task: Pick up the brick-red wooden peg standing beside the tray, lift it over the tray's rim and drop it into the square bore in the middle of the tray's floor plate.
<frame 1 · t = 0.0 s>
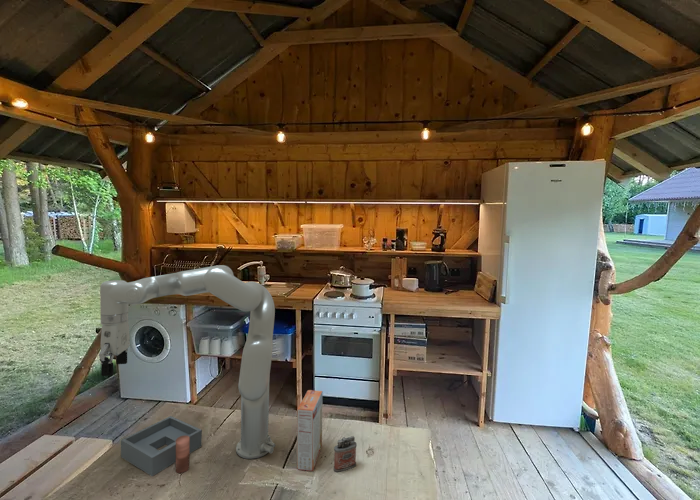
hand: (114, 369, 113), 31 cm above the table, tool pointing down, fingers open, 9 cm apart
peg: (182, 468, 111), on the table
cracker box: (309, 458, 118), on the table
lighter: (344, 468, 114), on the table
tray: (162, 451, 120), on the table
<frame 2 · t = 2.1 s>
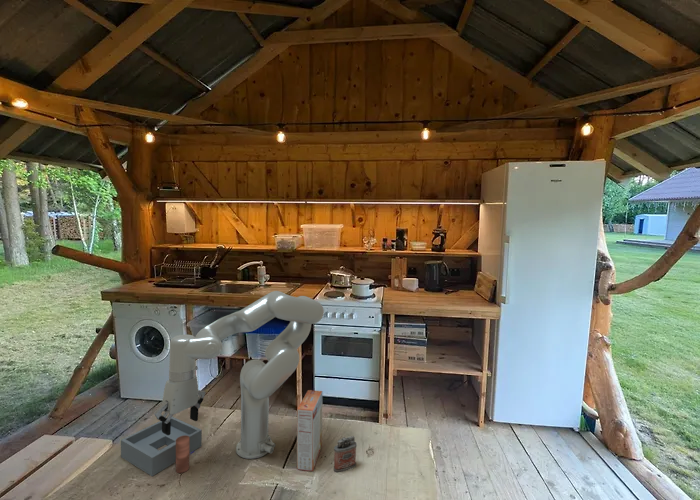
hand: (180, 426, 110), 14 cm above the table, tool pointing down, fingers open, 9 cm apart
nothing on the table moved.
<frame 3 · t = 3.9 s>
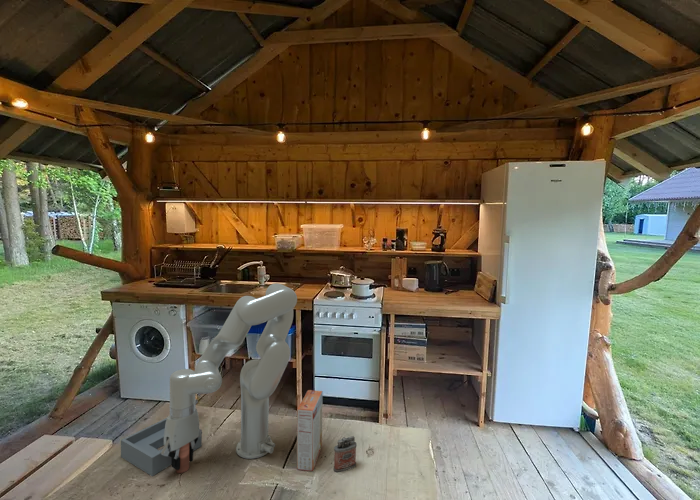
hand: (182, 463, 111), 2 cm above the table, tool pointing down, fingers closed on peg, 4 cm apart
peg: (182, 468, 111), on the table, touching gripper
everything else where it was.
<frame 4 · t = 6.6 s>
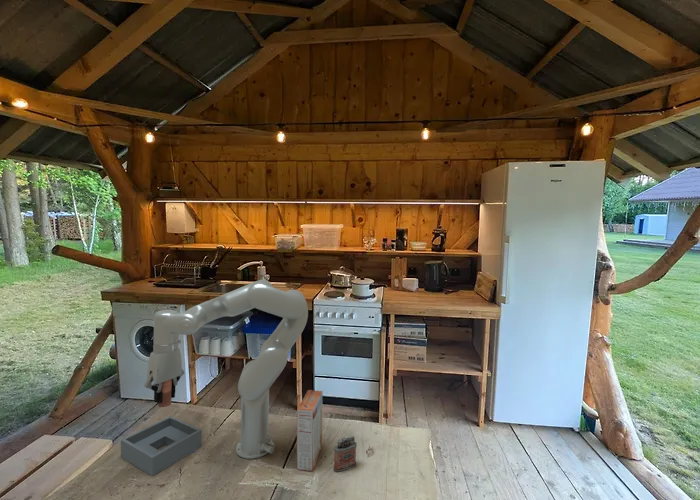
hand: (164, 399, 117), 20 cm above the table, tool pointing down, fingers closed on peg, 4 cm apart
peg: (164, 404, 117), point 18 cm above the table, touching gripper
everything else where it was.
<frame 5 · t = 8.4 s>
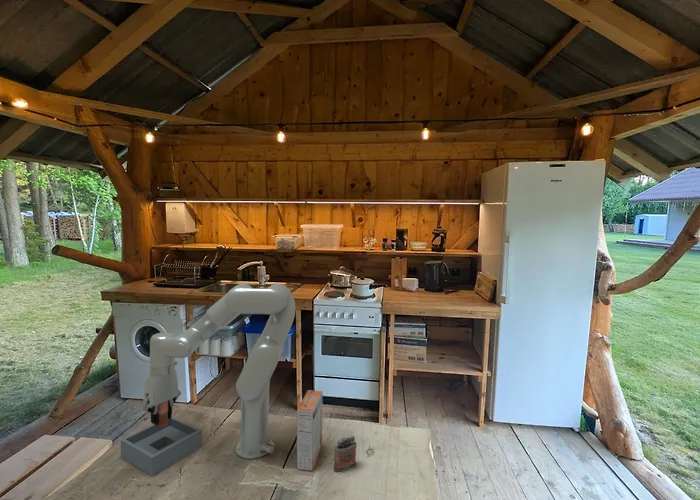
hand: (161, 420, 119), 11 cm above the table, tool pointing down, fingers closed on peg, 4 cm apart
peg: (161, 425, 119), point 9 cm above the table, touching gripper
everything else where it was.
when the fingers open (6 cm above the table, at t = 9.7 s): peg drops 4 cm, resting in tray.
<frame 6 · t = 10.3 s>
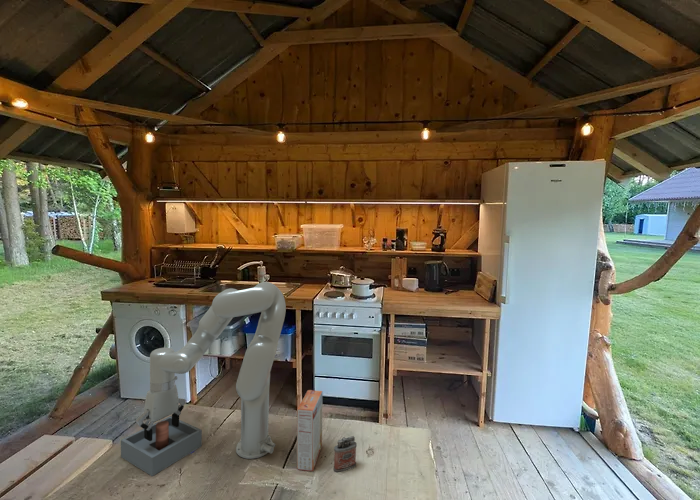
hand: (162, 432, 119), 7 cm above the table, tool pointing down, fingers open, 9 cm apart
peg: (162, 451, 119), resting in tray
everything else where it was.
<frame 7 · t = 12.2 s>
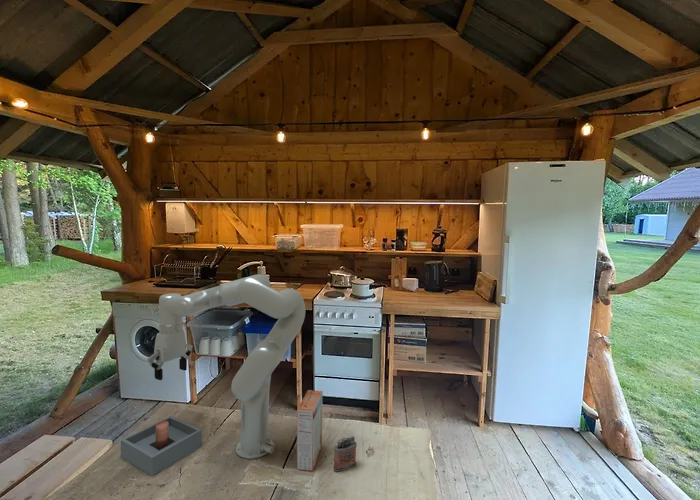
hand: (171, 374, 124), 25 cm above the table, tool pointing down, fingers open, 9 cm apart
nothing on the table moved.
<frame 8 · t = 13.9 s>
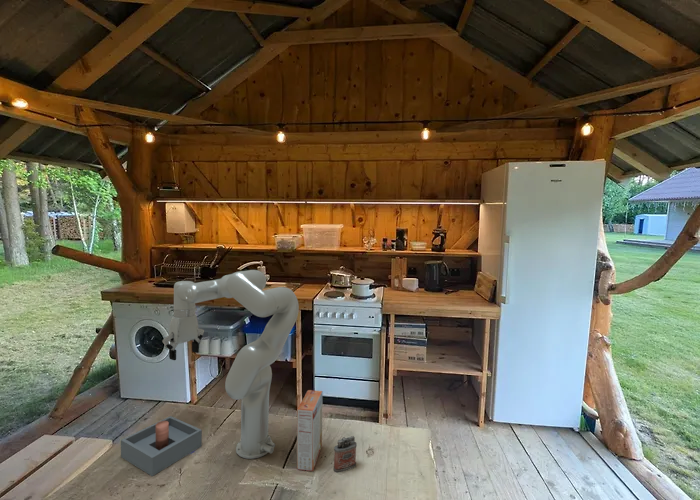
hand: (184, 355, 134), 28 cm above the table, tool pointing down, fingers open, 9 cm apart
nothing on the table moved.
at the end: peg 0.1 cm from the tray (horizontally); peg resting in tray; peg tilted 0° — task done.
